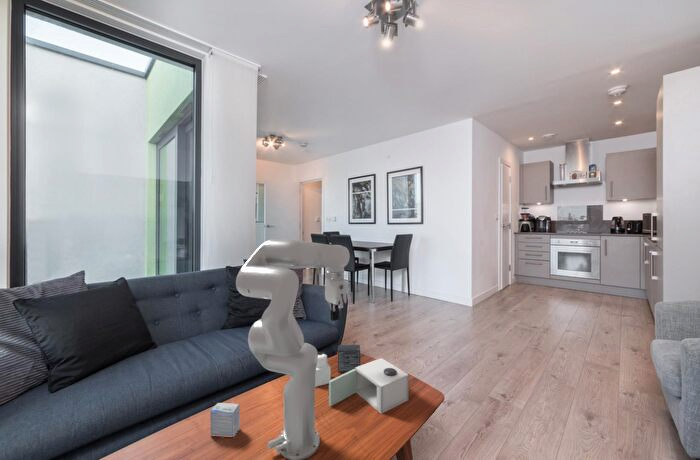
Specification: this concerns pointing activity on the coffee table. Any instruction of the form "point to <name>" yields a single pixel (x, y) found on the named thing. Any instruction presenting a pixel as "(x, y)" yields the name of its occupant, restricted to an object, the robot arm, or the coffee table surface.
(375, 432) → the coffee table surface
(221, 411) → the medicine box
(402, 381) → the white cabinet
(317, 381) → the white square bottle
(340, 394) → the side door
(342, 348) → the small box
